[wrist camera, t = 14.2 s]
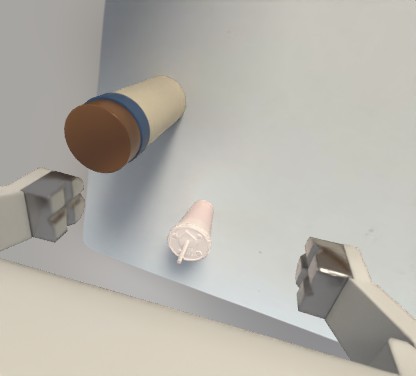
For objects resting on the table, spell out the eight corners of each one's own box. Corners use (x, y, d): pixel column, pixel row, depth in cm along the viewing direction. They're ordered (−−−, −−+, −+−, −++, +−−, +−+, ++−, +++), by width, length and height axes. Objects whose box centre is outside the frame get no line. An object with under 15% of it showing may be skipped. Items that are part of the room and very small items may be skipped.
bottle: (131, 94, 43) (63, 122, 29) (166, 64, 40) (108, 80, 26) (161, 132, 45) (110, 176, 31) (196, 107, 42) (156, 143, 28)
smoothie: (220, 193, 48) (200, 247, 36) (222, 225, 51) (205, 285, 39) (182, 192, 49) (152, 244, 37) (187, 224, 52) (160, 281, 40)
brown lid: (66, 123, 29) (50, 130, 27) (109, 84, 27) (94, 88, 24) (110, 174, 31) (98, 184, 29) (154, 143, 28) (144, 151, 26)
